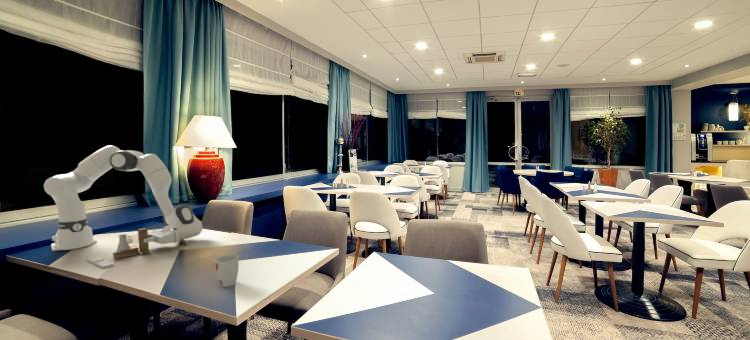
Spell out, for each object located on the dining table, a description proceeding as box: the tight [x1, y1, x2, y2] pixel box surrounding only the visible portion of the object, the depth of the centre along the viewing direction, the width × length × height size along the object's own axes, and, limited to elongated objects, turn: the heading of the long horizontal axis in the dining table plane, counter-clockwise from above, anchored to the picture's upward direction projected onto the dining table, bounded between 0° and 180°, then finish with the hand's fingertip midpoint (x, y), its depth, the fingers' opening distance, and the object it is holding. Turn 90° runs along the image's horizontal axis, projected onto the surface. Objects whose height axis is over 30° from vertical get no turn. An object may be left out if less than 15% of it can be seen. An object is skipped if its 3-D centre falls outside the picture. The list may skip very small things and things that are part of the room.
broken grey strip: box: [85, 255, 114, 269], centre depth 162 cm, size 20×4×1 cm, turn 55°
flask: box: [115, 233, 131, 252], centre depth 173 cm, size 7×7×10 cm
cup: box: [214, 254, 240, 288], centre depth 134 cm, size 8×8×10 cm
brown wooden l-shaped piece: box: [112, 227, 151, 260], centre depth 175 cm, size 20×14×12 cm
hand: (141, 240), depth 174 cm, fingers open, 3 cm apart
